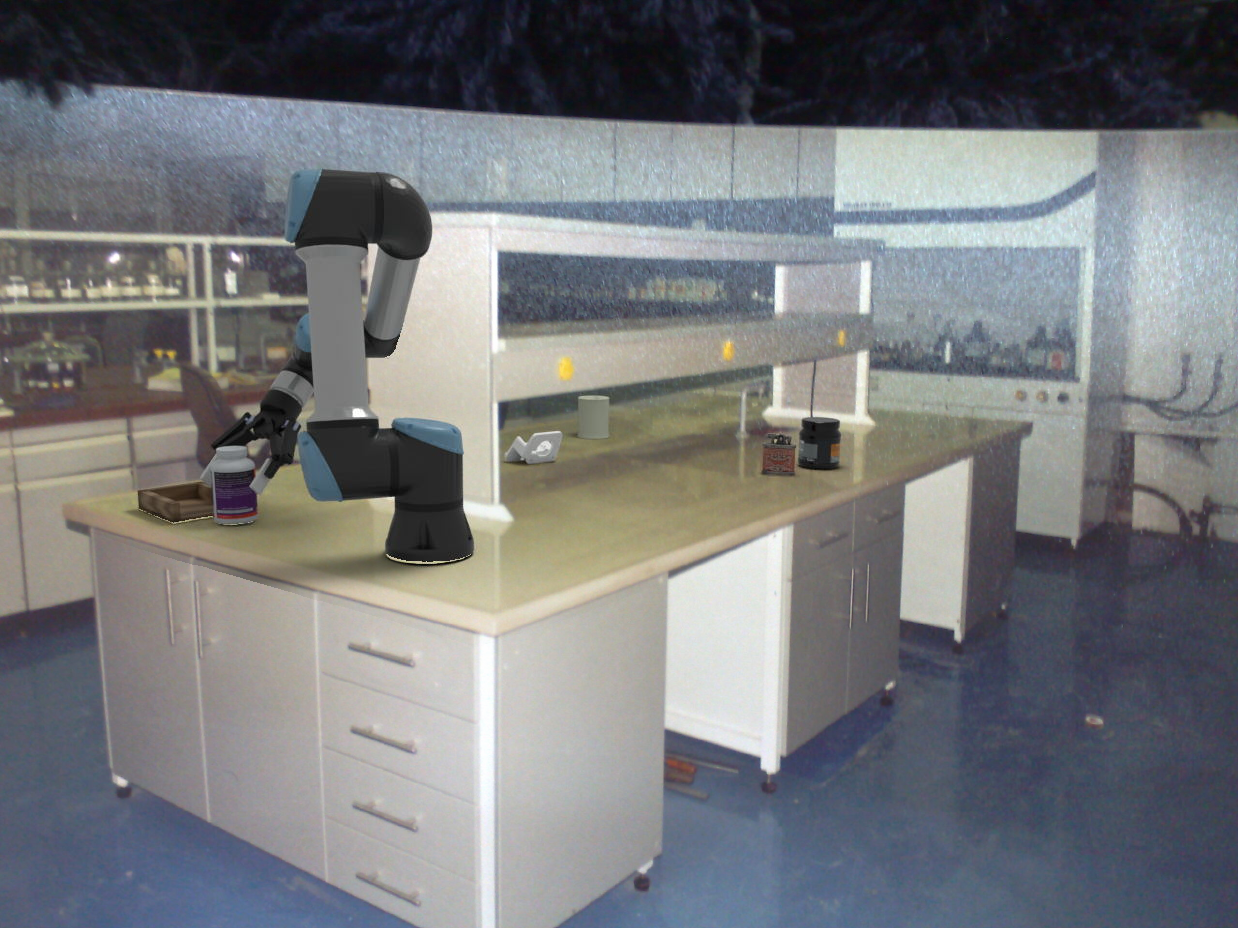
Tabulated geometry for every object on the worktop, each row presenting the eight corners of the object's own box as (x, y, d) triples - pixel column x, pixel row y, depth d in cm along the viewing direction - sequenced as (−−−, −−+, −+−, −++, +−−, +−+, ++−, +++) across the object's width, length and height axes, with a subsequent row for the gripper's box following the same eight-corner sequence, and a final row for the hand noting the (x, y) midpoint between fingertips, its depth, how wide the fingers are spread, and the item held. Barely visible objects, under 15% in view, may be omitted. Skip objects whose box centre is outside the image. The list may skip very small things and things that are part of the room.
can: (585, 440, 297) (586, 398, 295) (572, 435, 306) (572, 394, 303) (614, 438, 302) (615, 397, 299) (600, 433, 310) (600, 393, 307)
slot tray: (238, 513, 206) (237, 493, 205) (173, 524, 197) (171, 503, 196) (202, 500, 217) (201, 481, 216) (138, 510, 208) (137, 490, 207)
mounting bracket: (513, 472, 260) (522, 436, 255) (501, 459, 264) (510, 423, 259) (553, 467, 267) (563, 432, 262) (541, 454, 271) (550, 419, 266)
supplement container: (846, 466, 265) (849, 419, 262) (826, 472, 257) (829, 424, 254) (810, 460, 271) (812, 415, 269) (789, 466, 263) (791, 419, 261)
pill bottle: (266, 522, 200) (262, 448, 197) (226, 529, 194) (222, 453, 191) (244, 515, 205) (241, 443, 202) (205, 522, 199) (201, 448, 196)
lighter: (795, 473, 254) (797, 433, 252) (794, 476, 251) (796, 435, 249) (762, 471, 256) (764, 431, 254) (760, 474, 253) (762, 433, 251)
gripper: (342, 416, 204) (288, 505, 194) (253, 406, 216) (197, 489, 206) (321, 392, 199) (264, 482, 189) (231, 383, 211) (172, 467, 201)
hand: (229, 486), depth 198 cm, fingers open, 13 cm apart
